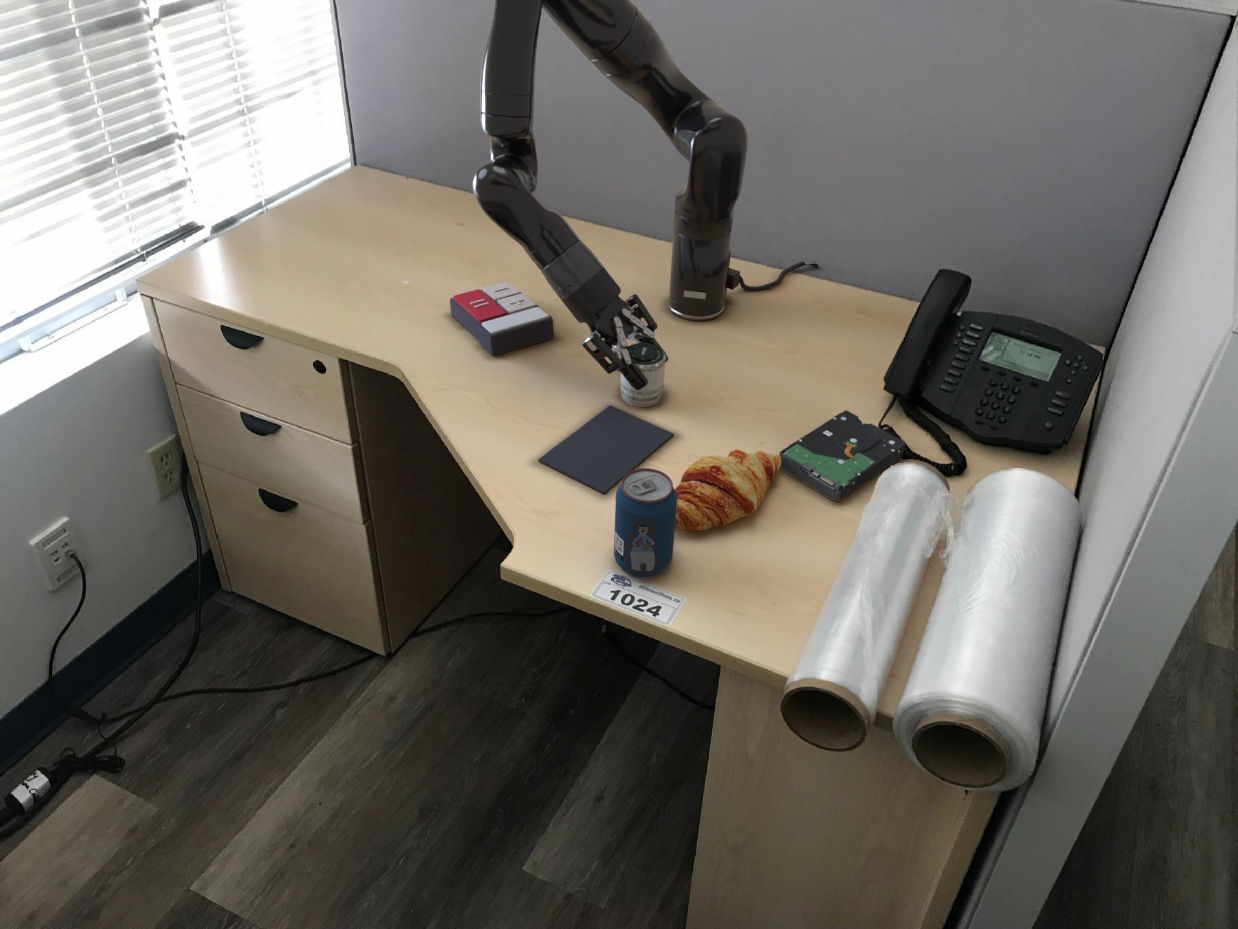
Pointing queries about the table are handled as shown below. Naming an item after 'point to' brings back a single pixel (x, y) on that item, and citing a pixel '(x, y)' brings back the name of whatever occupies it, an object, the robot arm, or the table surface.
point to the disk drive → (841, 455)
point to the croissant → (723, 489)
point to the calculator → (502, 318)
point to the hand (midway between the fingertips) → (653, 374)
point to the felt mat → (606, 449)
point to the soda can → (645, 523)
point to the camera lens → (652, 368)
